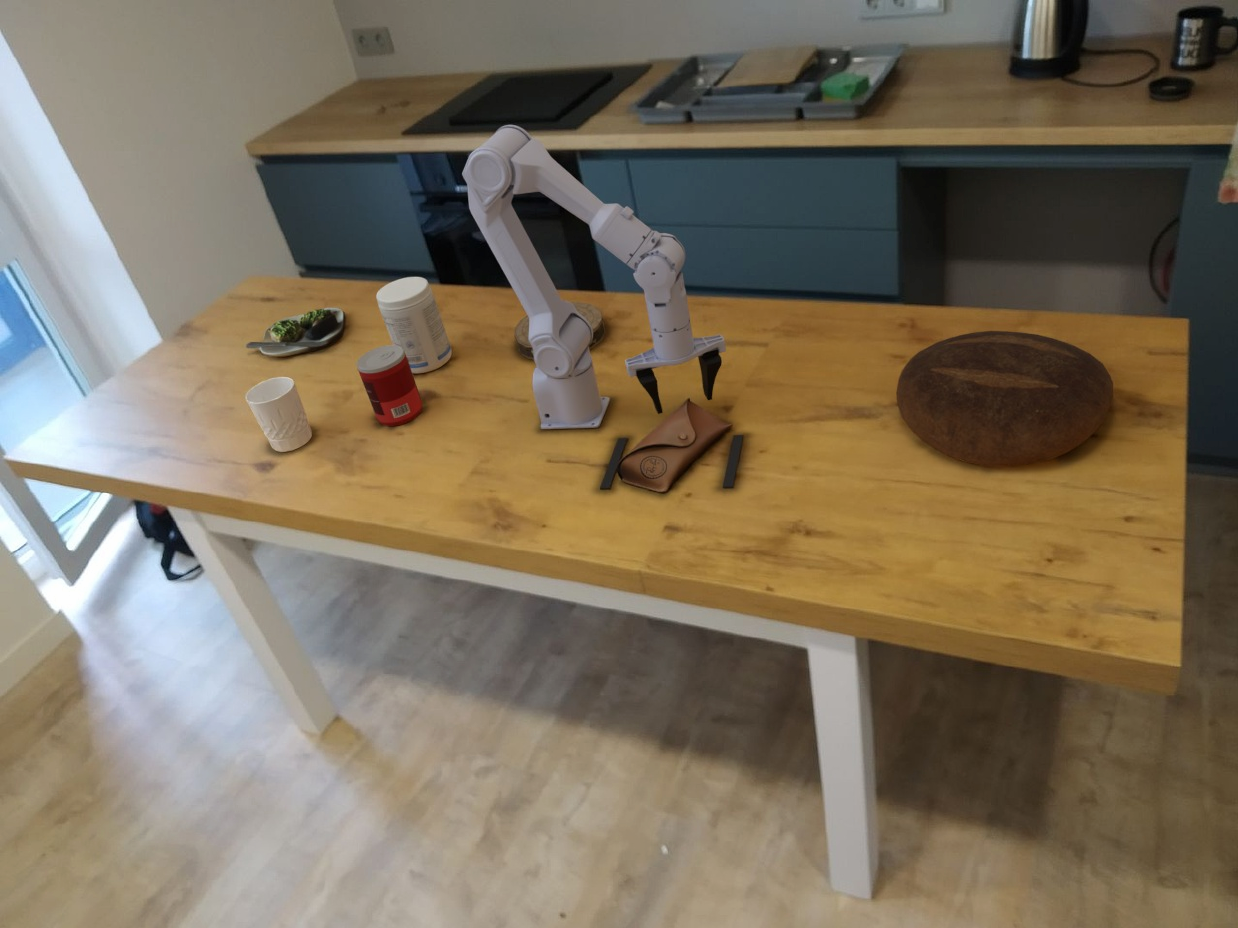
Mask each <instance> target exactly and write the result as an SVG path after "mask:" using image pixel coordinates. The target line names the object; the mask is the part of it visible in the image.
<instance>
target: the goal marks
mask: <svg viewBox="0 0 1238 928" xmlns="http://www.w3.org/2000/svg"><path fill="white" fill-rule="evenodd" d="M743 440H744V434H733V437H732V441H731V446H730V449H729V455H728V460H727V464H726V469H725V473H724V478H723V483H722V489H733V488H734V486H735V481H736V475H737V471H738V466H739V461H740V456H741V450H742V446H743ZM627 442H628V437H618V438H617V439H616V444H615V445H614V448H613V451H612V454H611V457H610V459H609V461H608V465H607V468H606V469H605V473H604V476H603V478H602V481H601V484H600V486H599V490H610V489H611V488H612V484H613V481H614V478H615V475H616V474H617V465H618V463H619V461H620V460H621V459H622V456H623V453H624V451H625V448H626V446H627Z"/></svg>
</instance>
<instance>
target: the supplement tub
mask: <svg viewBox="0 0 1238 928" xmlns="http://www.w3.org/2000/svg"><path fill="white" fill-rule="evenodd" d="M375 298H376V301H377V306H378V309H379V311H380V315H381V317H382V319H383V322H384V325H385V327H386V331H387V333H388V336H389V338H390V341H391V343H392V344H391V345H397V346H400V347H402V348H403V350H404V351H405V354H406V357H407V359H408V362H409V365H410V368H411V371H412V374H424V373H429V372H432V371H435V370H437V369H439V368H441V367H442V366H443V365H445V364H446V363H448V361H449V360H450V359H451V358H452V355H453V354H452V353H453V350H452V347H451V342H450V340H449V337H448V333H447V332H446V328H445V325H444V322H443V320H442V319H443V318H442V317H441V313H440V310H439V308H438V304H437V302H436V299H435V295H434V293H433V289H432V288H431V286H430V284H429V282H428V280H427V279H426V278H424V277H422V276H407V277H403V278H399V279H396V280H394V281H391V282H389V283H387V284H385V285H384V286H383V287H381V288H380V289H378V291H377V293H376V295H375Z"/></svg>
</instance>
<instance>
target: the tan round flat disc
mask: <svg viewBox="0 0 1238 928" xmlns="http://www.w3.org/2000/svg"><path fill="white" fill-rule="evenodd" d="M570 302H571V301H570ZM571 303H573V304H574V306H575V308H576V310H577V311H578V312H579V313H580V314H581V315H582V316H583V317H584V318H585V319H587V321H588V322H589V323H590V325H591V327H592V329H593V339H592V341H591V343H590V344H589V345H588V346H589V351H590V350H592V349H593V348H594V347H596V346H597V345H598V344H599V343H600V342H601V341H602V340H603V339H604V336H605V334H606V327H605V323H604V318H603V317H604V316H603V313H602V311H601V310H600V309H599V307H598V306H595V305H593V304H591V303H587V302H580V301H572V302H571ZM513 335H514V336H513V337H514V340H515V343H516V347H517V350H518V351H519V353H520V354H521V356H523V357H525V358H527V359H528V360H533V361H534V352H533V348H532V345H531V344H530V342H529V317H528V315H527V314H526V316H523V318H522V319H521V320H519V321H518V322H517V324H516V326H515V327H514V332H513Z"/></svg>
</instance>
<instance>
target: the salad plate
mask: <svg viewBox="0 0 1238 928" xmlns="http://www.w3.org/2000/svg"><path fill="white" fill-rule="evenodd" d="M345 327H346V312H345V311H344V310H343V309H342V308H340V307H333V306H331V307H325V308H319V309H313V310H311V311H307V312H306V313H303V314H298V315H293V316H289V317H286V318H285V317H284V318H282V319H279V320H277V321H276V322H274V323H273V324H271V325H270V326H269V327H267V328H266V330H265V331H264V334H263V338H262V341H250V342H248V343H246V345H245V348H246V349H249V350H258V351H260V352H261V354H263V355H266V356H269V357H291V356H294V355H295V356H296V355H301V354H304V353H311V352H315V351H318V350H322V349H325V348H328V347H329V346H331V345H333V344H335V343H337V342H338V341H339V340H340V339H341V337H342V336H343V334H344V330H345Z"/></svg>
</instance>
